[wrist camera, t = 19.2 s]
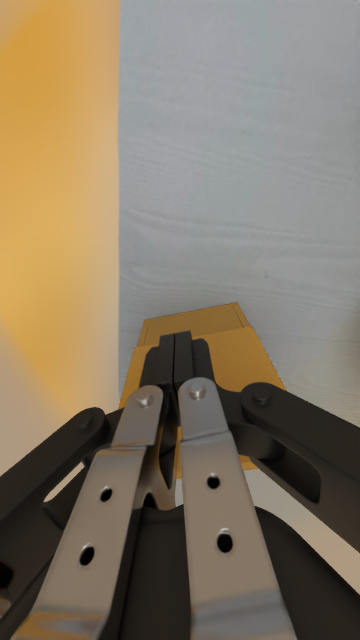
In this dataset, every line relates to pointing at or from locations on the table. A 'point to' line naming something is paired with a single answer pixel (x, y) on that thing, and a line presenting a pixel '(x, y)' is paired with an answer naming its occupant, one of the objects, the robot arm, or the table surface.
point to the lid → (219, 368)
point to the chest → (194, 323)
